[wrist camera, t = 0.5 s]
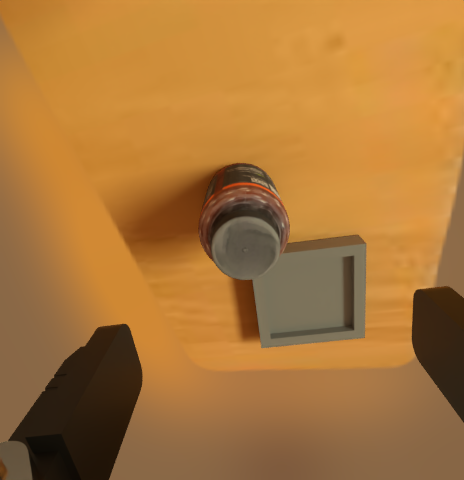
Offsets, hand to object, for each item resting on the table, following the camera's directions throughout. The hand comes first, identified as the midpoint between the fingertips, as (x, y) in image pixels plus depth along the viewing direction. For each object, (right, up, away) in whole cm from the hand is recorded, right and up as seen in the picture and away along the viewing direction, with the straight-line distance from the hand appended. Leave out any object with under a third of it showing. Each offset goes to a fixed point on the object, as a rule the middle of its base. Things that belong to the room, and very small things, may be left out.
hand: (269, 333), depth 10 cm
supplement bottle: (0, +7, +20) cm, 21 cm away
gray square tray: (+6, -2, +23) cm, 24 cm away
